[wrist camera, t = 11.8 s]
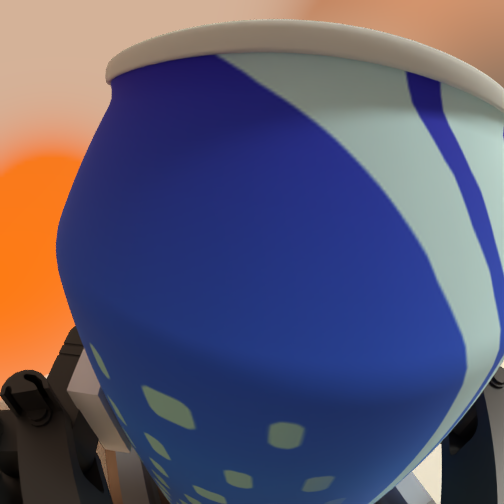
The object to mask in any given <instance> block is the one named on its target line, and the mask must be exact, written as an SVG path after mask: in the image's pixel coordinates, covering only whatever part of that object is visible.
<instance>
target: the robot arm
mask: <svg viewBox="0 0 504 504" xmlns="http://www.w3.org/2000/svg"><path fill="white" fill-rule="evenodd" d="M0 396H1V398H2V399H3V400H4V402H5V403H6V404H7V406H8V407H9V408H10V410H0V504H113V501H112V498H111V495H110V492H109V489H108V486H107V482H106V479H105V476H104V472H103V468H102V465H101V461H100V459H99V457H98V454H97V453H96V449H97V444H98V440H99V442H100V443H101V445H102V446H103V447H104V449H106V450H112V451H118V452H125V453H131V448H132V445H131V443H130V441H129V440H128V438H127V436H126V434H125V433H124V431H123V429H122V427H121V425H120V424H119V422H118V420H117V418H116V416H115V414H114V412H113V410H112V408H111V406H110V404H109V402H108V400H107V398H106V396H105V394H104V392H103V390H102V388H101V386H100V384H99V381H98V379H97V377H96V375H95V373H94V370H93V368H92V366H91V363H90V361H89V359H88V356H87V354H86V351H85V349H84V346H83V344H82V341H81V339H80V336H79V333H78V331H77V328H76V326H75V327H73V328H72V329H71V330H70V332H69V334H68V336H67V338H66V340H65V342H64V345H63V346H62V348H61V350H60V352H59V355H58V356H57V358H56V360H55V362H54V364H53V367H52V369H51V371H50V373H49V375H48V377H47V379H46V378H45V377H44V376H43V375H42V374H41V373H39V372H37V371H34V370H23V371H20V372H17V373H15V374H14V375H12V376H11V377H9V378H8V379H7V380H6V382H5V383H4V385H3V386H2V389H1V393H0ZM440 444H442V489H441V504H504V368H502V367H499V368H498V370H497V371H496V373H495V374H494V376H493V377H492V379H491V380H490V382H489V383H488V385H487V386H486V387H485V389H484V390H483V391H482V393H481V394H480V396H479V397H478V398H477V400H476V401H475V402H474V404H473V405H472V406H471V407H470V409H469V410H468V411H467V412H466V414H465V415H464V416H463V417H462V419H461V420H460V421H459V422H458V423H457V425H456V426H455V427H454V428H453V429H452V430H451V432H450V433H449V434H448V435H447V436H446V437H445V438H444V439H443V440H442V442H441V443H440Z"/></svg>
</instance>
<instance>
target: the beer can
mask: <svg viewBox="0 0 504 504" xmlns="http://www.w3.org/2000/svg"><path fill="white" fill-rule="evenodd" d="M106 82H107V84H109V85H111V88H112V99H111V102H110V105H109V107H108V109H107V111H106V113H105V115H104V117H103V119H102V121H101V123H100V125H99V127H98V129H97V131H96V133H95V135H94V137H93V139H92V141H91V143H90V145H89V147H88V150H87V152H86V154H85V156H84V159H83V161H82V163H81V166H80V168H79V170H78V173H77V175H76V178H75V180H74V183H73V185H72V188H71V190H70V193H69V195H68V198H67V201H66V204H65V206H64V209H63V212H62V215H61V218H60V222H59V226H58V231H57V240H56V256H57V264H58V271H59V275H60V278H61V282H62V285H63V289H64V292H65V295H66V298H67V302H68V305H69V308H70V310H71V313H72V316H73V319H74V322H75V325H76V328H77V331H78V333H79V336H80V339H81V341H82V344H83V346H84V349H85V351H86V354H87V356H88V359H89V361H90V363H91V366H92V368H93V370H94V373H95V375H96V377H97V379H98V381H99V384H100V386H101V388H102V390H103V392H104V394H105V396H106V398H107V400H108V402H109V404H110V406H111V408H112V410H113V412H114V414H115V416H116V418H117V420H118V422H119V424H120V425H121V427H122V429H123V431H124V433H125V434H126V436H127V438H128V440H129V441H130V443H131V445H132V447H133V448H134V450H135V452H136V453H137V455H138V456H139V458H140V460H141V461H142V463H143V464H144V466H145V468H146V469H147V471H148V472H149V474H150V475H151V477H152V478H153V480H154V481H155V483H156V484H157V486H158V487H159V488H160V490H161V491H162V493H163V494H164V496H165V497H166V498H167V500H168V501H169V502H170V504H374V503H375V502H377V501H378V500H379V499H380V498H382V497H383V496H384V495H385V494H387V493H388V492H389V491H390V490H391V489H393V488H394V487H395V486H396V485H397V484H398V483H400V482H401V481H402V480H403V479H404V478H405V477H406V476H407V475H408V474H410V473H411V472H412V471H413V470H414V469H415V468H416V467H417V466H418V465H419V464H420V463H421V462H422V461H423V460H424V459H425V458H426V457H427V456H428V455H429V454H430V453H431V452H432V451H433V450H434V449H435V448H436V447H437V446H438V445H439V444H440V443H441V442H442V440H443V439H444V438H445V437H446V436H447V435H448V434H449V433H450V432H451V430H452V429H453V428H454V427H455V426H456V425H457V423H458V422H459V421H460V420H461V419H462V417H463V416H464V415H465V414H466V412H467V411H468V410H469V409H470V407H471V406H472V405H473V404H474V402H475V401H476V400H477V398H478V397H479V396H480V394H481V393H482V391H483V390H484V389H485V387H486V386H487V385H488V383H489V382H490V380H491V379H492V377H493V376H494V374H495V373H496V371H497V370H498V368H499V367H500V365H501V364H502V362H503V360H504V89H503V88H502V87H501V86H500V85H499V84H498V83H497V82H495V81H494V80H493V79H491V78H490V77H489V76H487V75H486V74H484V73H483V72H481V71H479V70H477V69H476V68H474V67H473V66H471V65H469V64H467V63H465V62H463V61H461V60H459V59H457V58H455V57H453V56H451V55H449V54H447V53H445V52H442V51H440V50H437V49H435V48H432V47H430V46H427V45H424V44H421V43H419V42H416V41H413V40H409V39H406V38H403V37H399V36H396V35H392V34H389V33H384V32H381V31H377V30H372V29H366V28H362V27H356V26H350V25H344V24H338V23H330V22H319V21H307V20H290V19H289V20H288V19H281V20H280V19H275V20H274V19H267V20H243V21H232V22H224V23H215V24H208V25H202V26H197V27H192V28H187V29H183V30H178V31H174V32H170V33H167V34H163V35H160V36H157V37H154V38H151V39H148V40H145V41H143V42H141V43H138V44H136V45H133V46H131V47H129V48H127V49H125V50H124V51H122V52H121V53H119V54H118V55H116V56H115V57H114V58H112V59H111V61H110V62H109V63H108V66H107V69H106Z"/></svg>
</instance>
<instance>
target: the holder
mask: <svg viewBox="0 0 504 504" xmlns="http://www.w3.org/2000/svg"><path fill="white" fill-rule="evenodd" d="M105 453H106V463H107V472H108V480H109V487H110V494H111V498H112V501H113V504H170V502H169V501H168V500H167V498H166V497H165V496H164V494H163V493H162V491H161V490H160V488H159V487H158V486H157V484H156V483H155V481H154V480H153V478H152V477H151V475H150V474H149V472H148V471H147V469H146V468H145V466H144V464H143V463H142V461H141V460H140V458H139V456H138V455H137V453H136V452H135V450H134V448H133V447H132V448H131V453H125V452H118V451H112V450H106V449H105ZM374 504H436V503H435V502H434V500H433V499H432V498H431V496H430V495H429V494H428V492H427V491H426V490H425V488H424V487H423V486H422V484H421V483H420V482H419V480H418V479H417V478H416V476H415V475H414V474H413V472H411V473H410V474H408V475H407V476H406V477H405V478H404V479H403V480H402V481H401V482H400V483H398V484H397V485H396V486H395V487H394V488H393V489H391V490H390V491H389V492H388V493H387V494H385V495H384V496H383V497H382V498H380V499H379V500H378V501H377V502H375V503H374Z"/></svg>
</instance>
